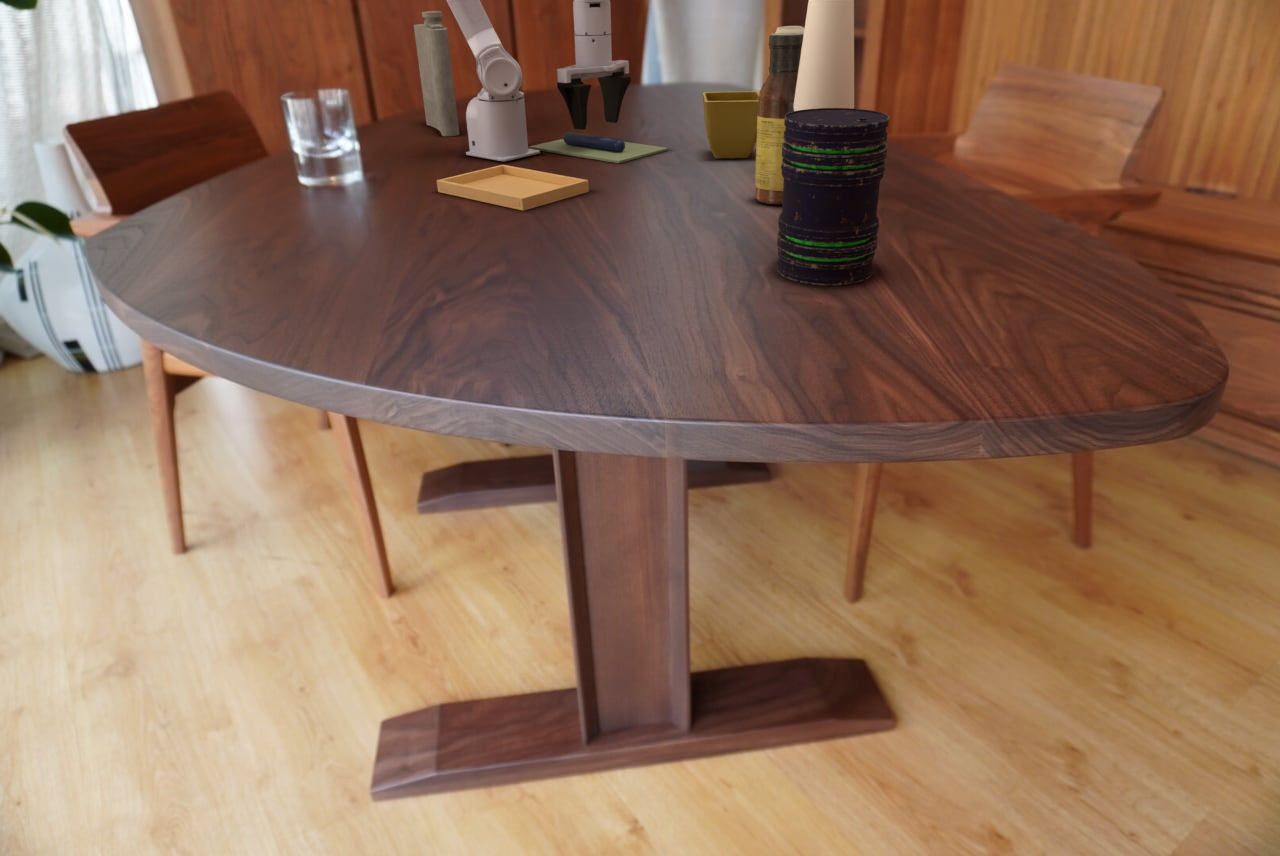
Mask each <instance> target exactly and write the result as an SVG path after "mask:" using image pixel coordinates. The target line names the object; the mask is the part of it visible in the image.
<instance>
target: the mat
mask: <svg viewBox="0 0 1280 856" xmlns="http://www.w3.org/2000/svg"><path fill="white" fill-rule="evenodd" d="M624 143H625V149H624V150H623V151H622V152H614V151H607V150H601V149H594V148H587V147H581V146H574V145H568V144H566V143H565V142H564V139H563V138H560V139H555V140H552V141H547V142H542V143H537V144H534V145H533V144H532V145H530V146H529V145H528V149H534V150H539V151H540V152H547V153H553V154H557V155H565V156H571V157H577V158H583V159H589V160H596V161H603V162H607V163H608V162H609V163H613V164H614V163H615V164H622V163H626V162H630V161H633V160H636V159H641V158H645V157H649V156H652V155H656V154H660V153H663V152H664V153H665V152H667V151H669V148H668V147H664V146H659V145H651V144H644V143H638V142H637V143H636V142H630V141H624Z"/></svg>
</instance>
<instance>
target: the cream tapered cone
mask: <svg viewBox="0 0 1280 856" xmlns="http://www.w3.org/2000/svg"><path fill="white" fill-rule="evenodd" d="M806 9H807V10H806V16H805V21H804V22H805V23H804V28H805V29H804V36H803V43H802V50H801V57H800V63H799V70H798V77H797V84H796V91H795V98H794V105H793V107H794V111H799V110H806V109H818V108H851V109H855V0H808V2H807V8H806Z"/></svg>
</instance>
